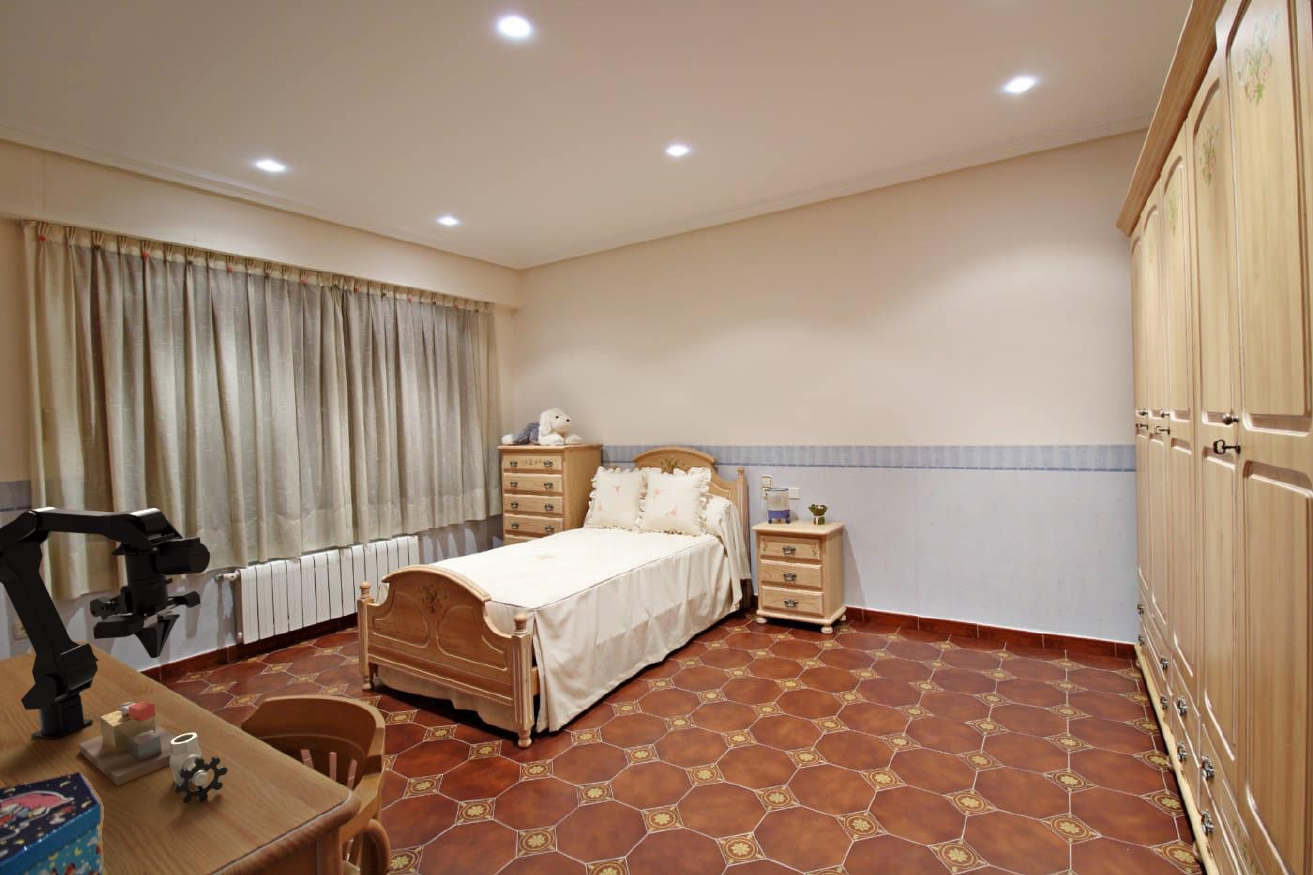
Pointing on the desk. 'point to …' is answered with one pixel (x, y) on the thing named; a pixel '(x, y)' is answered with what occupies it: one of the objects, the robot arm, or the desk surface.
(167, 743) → the valve plank
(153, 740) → the beige stepped block
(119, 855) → the desk surface
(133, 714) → the lever
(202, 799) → the valve
